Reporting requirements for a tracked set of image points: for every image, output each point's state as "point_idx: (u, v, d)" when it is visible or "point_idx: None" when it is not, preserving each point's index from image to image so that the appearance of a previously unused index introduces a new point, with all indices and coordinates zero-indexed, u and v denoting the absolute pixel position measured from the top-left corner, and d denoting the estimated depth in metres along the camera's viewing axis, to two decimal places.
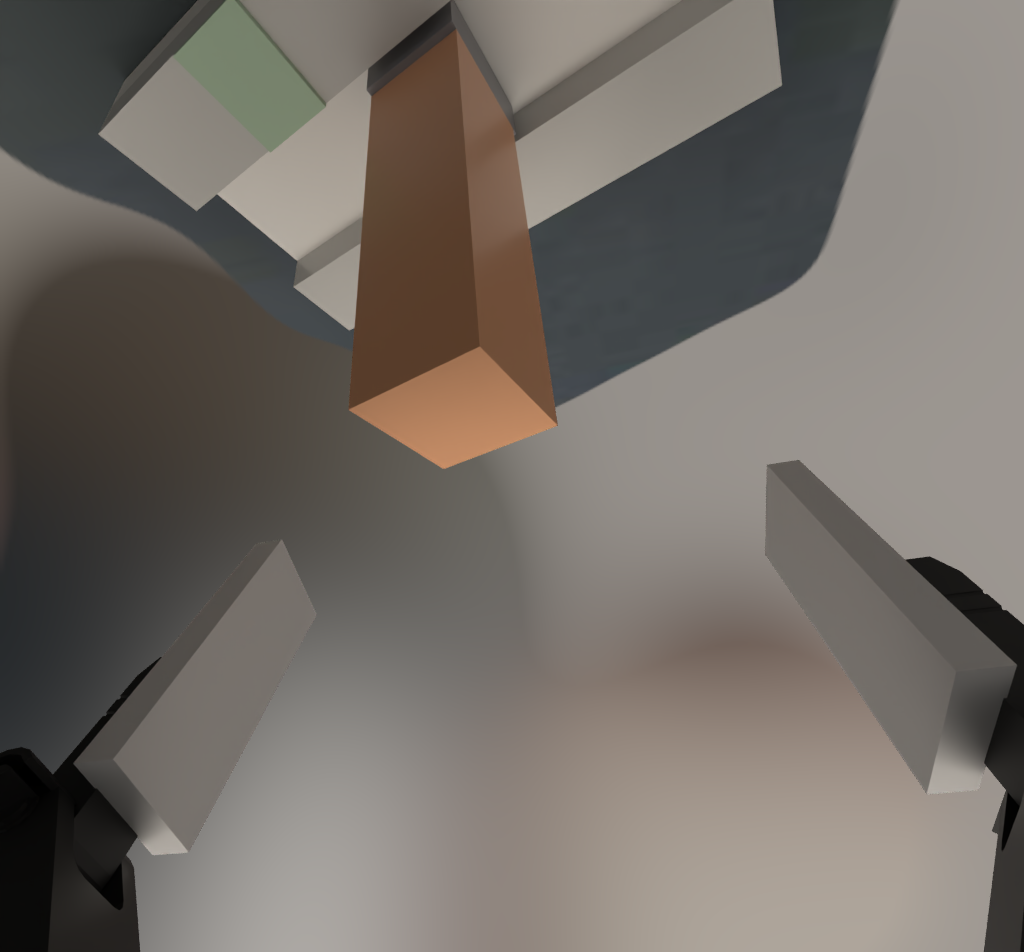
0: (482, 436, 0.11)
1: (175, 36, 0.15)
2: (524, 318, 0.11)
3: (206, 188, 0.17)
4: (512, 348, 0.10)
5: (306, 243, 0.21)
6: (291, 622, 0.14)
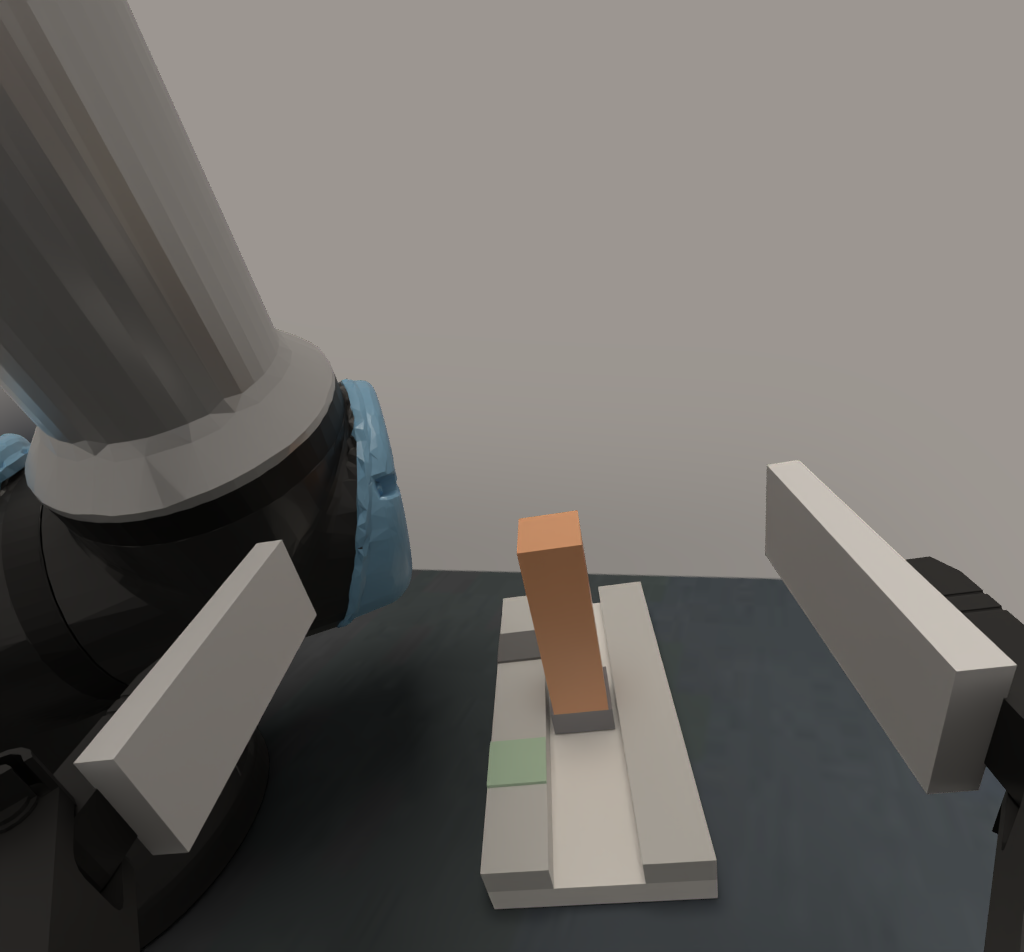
0: (566, 528, 0.25)
1: None
2: None
3: (541, 845, 0.23)
4: None
5: (633, 859, 0.24)
6: (291, 622, 0.14)
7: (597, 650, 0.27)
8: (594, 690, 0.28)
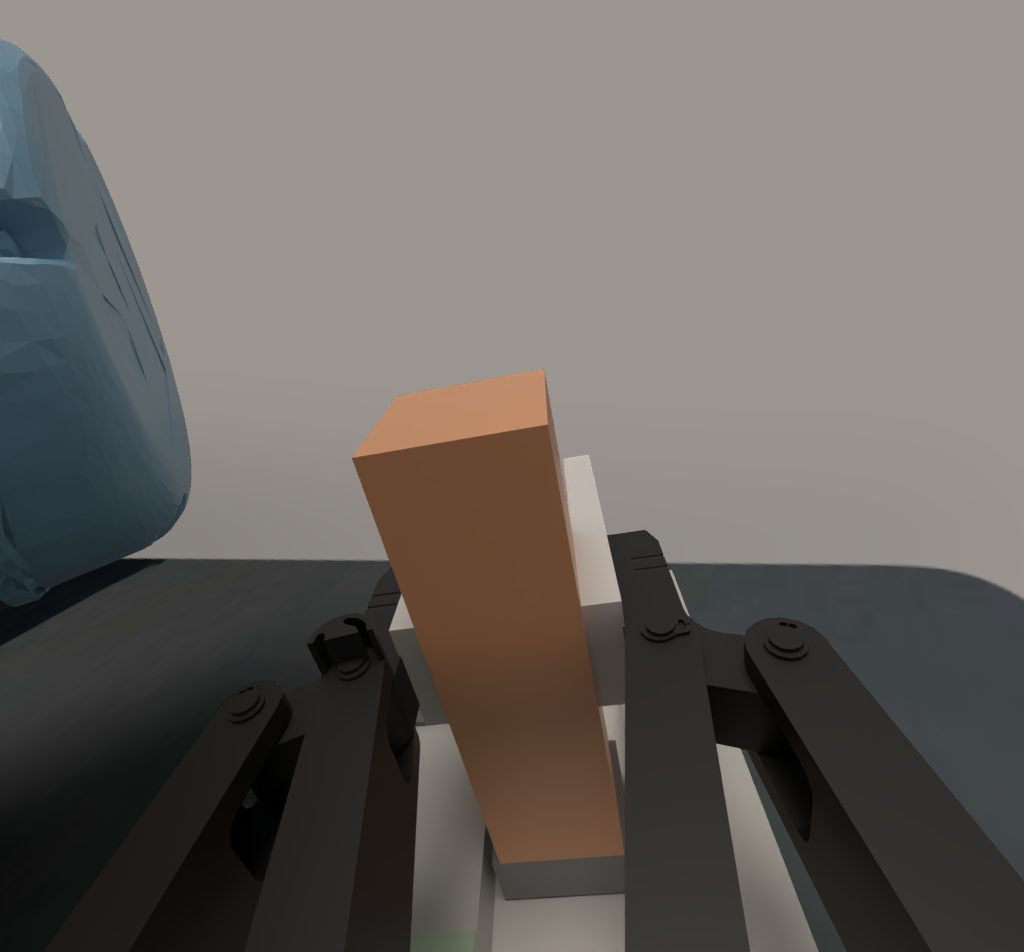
0: (509, 399, 0.09)
1: None
2: None
3: None
4: None
5: None
6: None
7: (598, 728, 0.10)
8: (591, 816, 0.12)
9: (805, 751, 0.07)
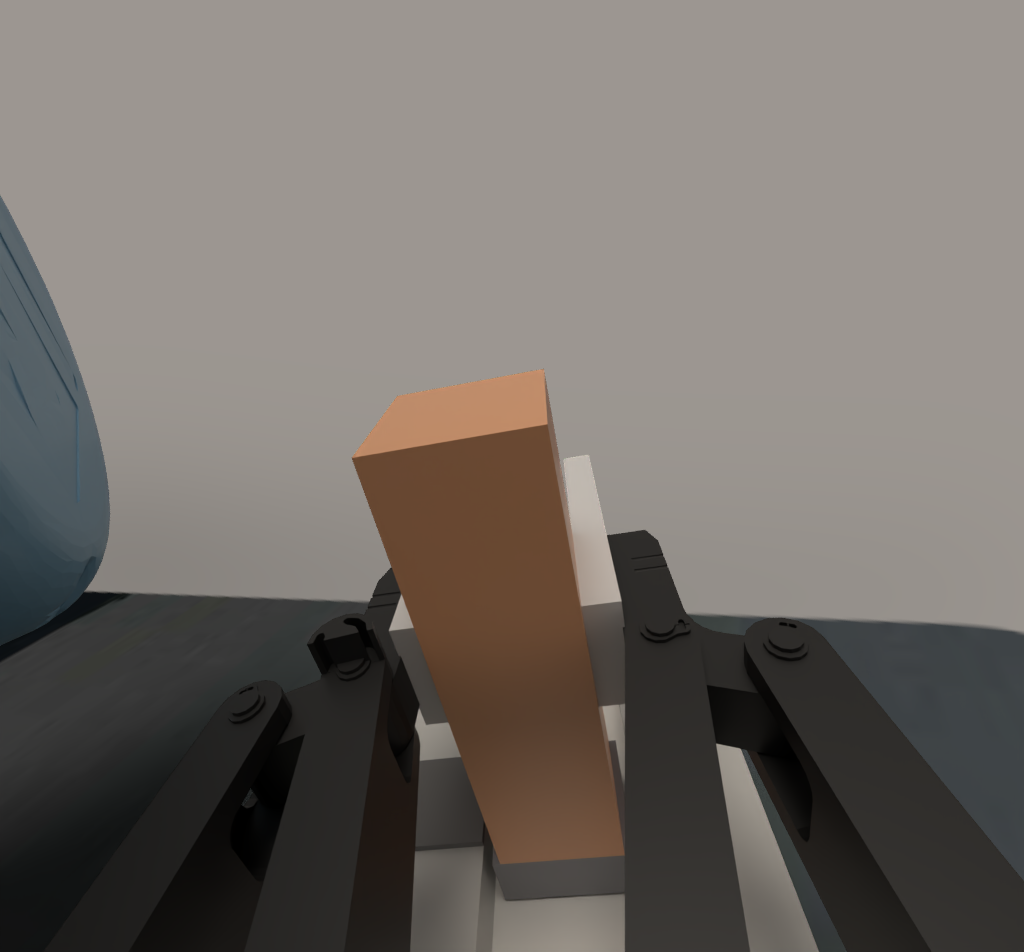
0: (509, 398, 0.09)
1: None
2: None
3: None
4: None
5: None
6: None
7: (598, 728, 0.10)
8: (591, 817, 0.12)
9: (805, 751, 0.07)
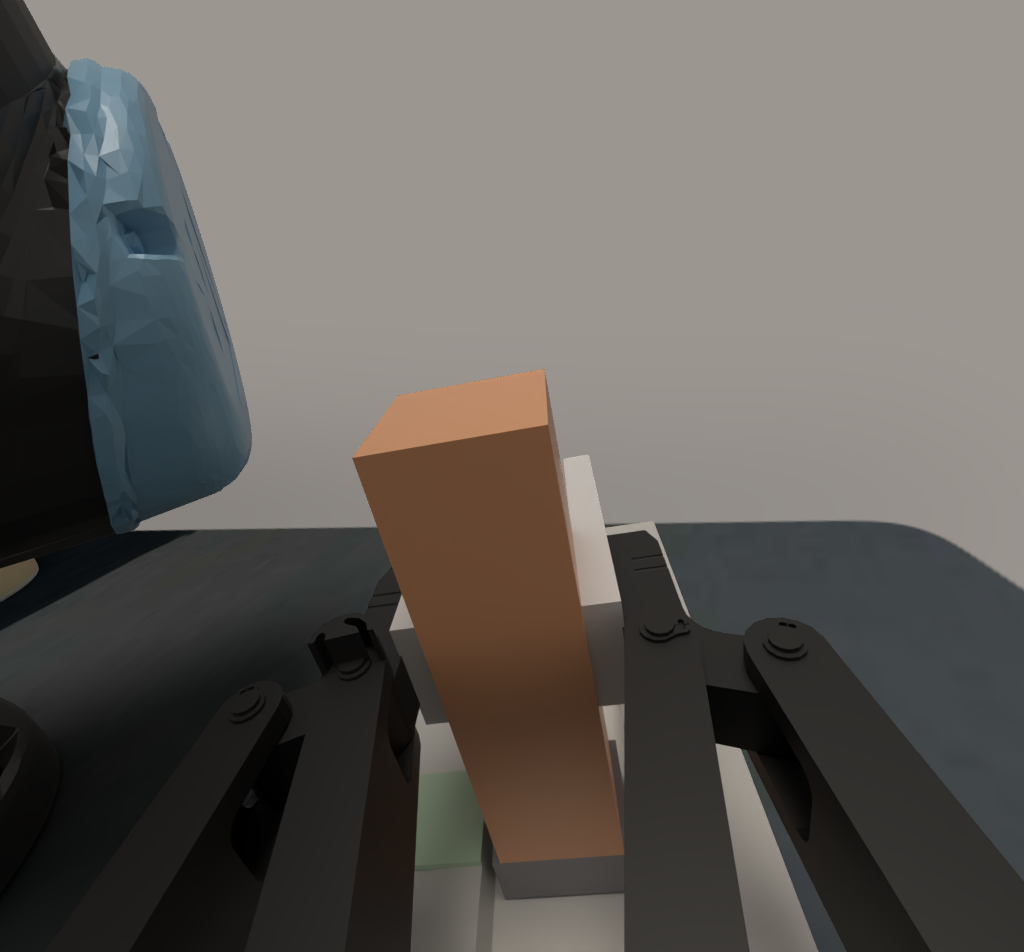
0: (509, 399, 0.09)
1: None
2: None
3: None
4: None
5: None
6: None
7: (597, 728, 0.10)
8: (591, 816, 0.12)
9: (805, 751, 0.07)
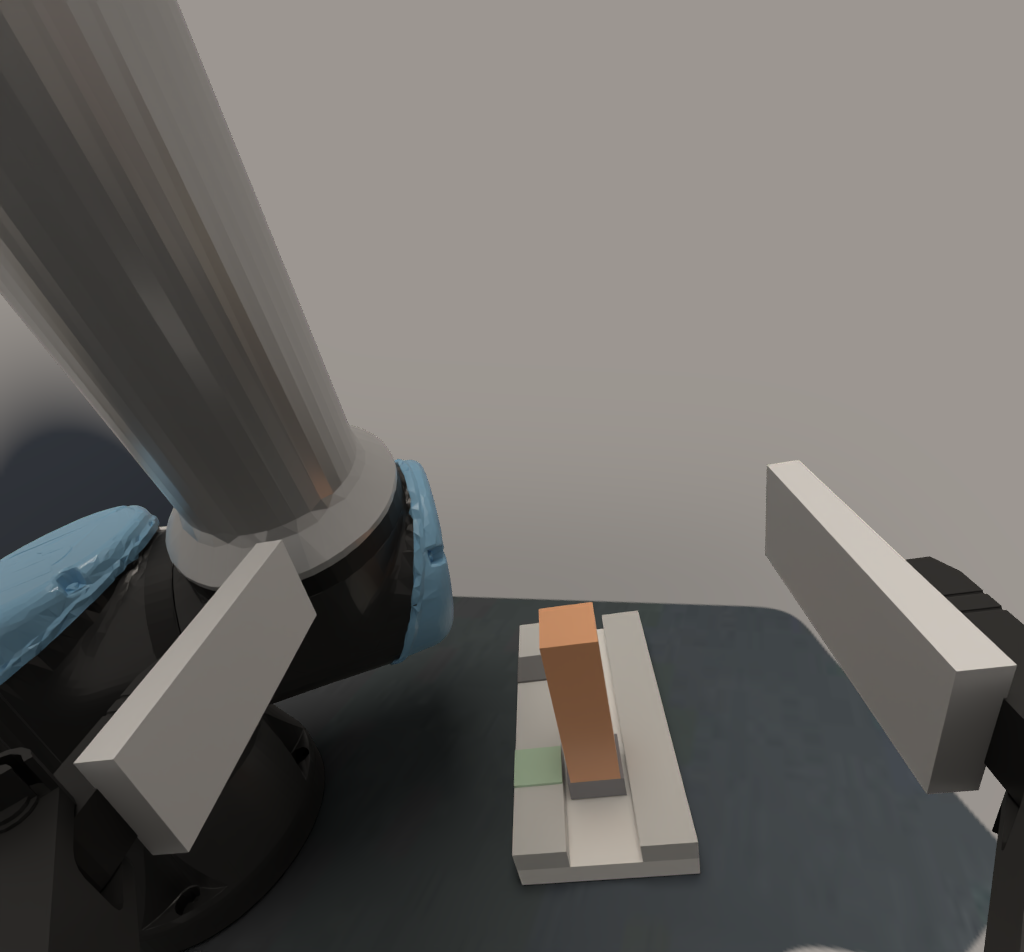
0: (583, 622, 0.28)
1: None
2: None
3: (560, 832, 0.30)
4: None
5: (633, 843, 0.30)
6: (291, 622, 0.14)
7: (610, 728, 0.29)
8: (607, 762, 0.31)
9: None
